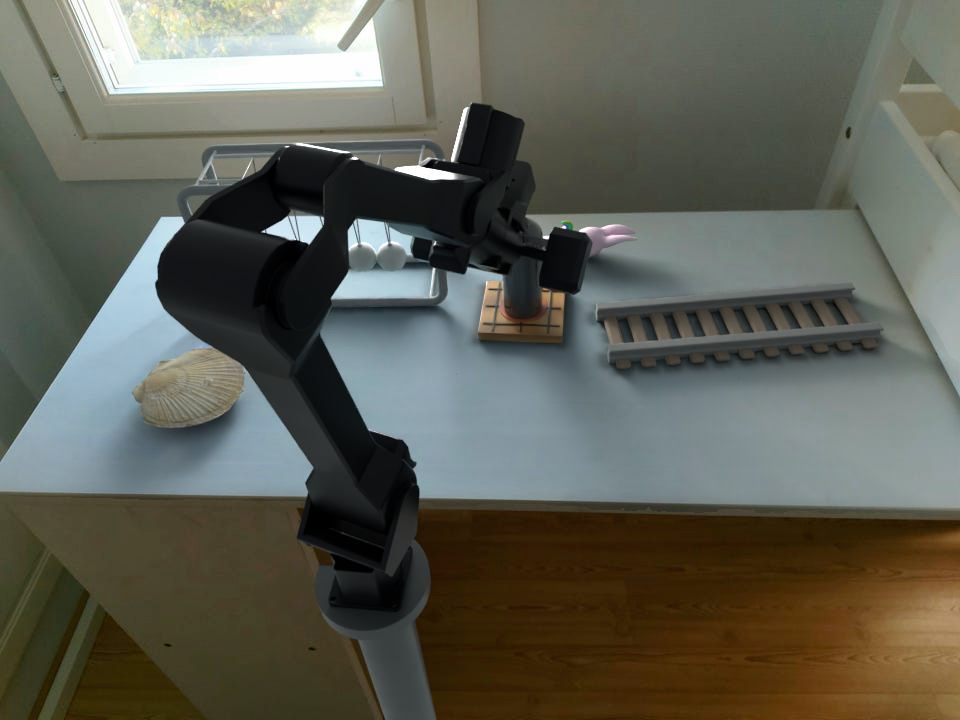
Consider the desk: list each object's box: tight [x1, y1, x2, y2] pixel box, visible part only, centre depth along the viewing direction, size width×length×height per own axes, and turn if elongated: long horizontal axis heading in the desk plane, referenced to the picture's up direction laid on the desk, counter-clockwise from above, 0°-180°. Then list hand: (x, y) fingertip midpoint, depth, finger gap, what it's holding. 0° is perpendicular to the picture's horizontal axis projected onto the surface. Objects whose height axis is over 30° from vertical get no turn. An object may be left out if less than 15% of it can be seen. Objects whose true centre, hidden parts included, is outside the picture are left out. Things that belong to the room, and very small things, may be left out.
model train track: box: [594, 281, 884, 371], centre depth 89 cm, size 11×31×2 cm, turn 94°
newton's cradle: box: [176, 138, 449, 308], centre depth 93 cm, size 30×10×18 cm, turn 88°
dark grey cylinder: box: [501, 217, 544, 319], centre depth 88 cm, size 5×5×12 cm
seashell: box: [131, 347, 246, 429], centre depth 84 cm, size 12×12×3 cm
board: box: [477, 280, 566, 344], centre depth 92 cm, size 10×10×1 cm
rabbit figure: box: [543, 220, 638, 258], centre depth 99 cm, size 6×6×15 cm
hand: (519, 261), depth 86 cm, fingers open, 9 cm apart
